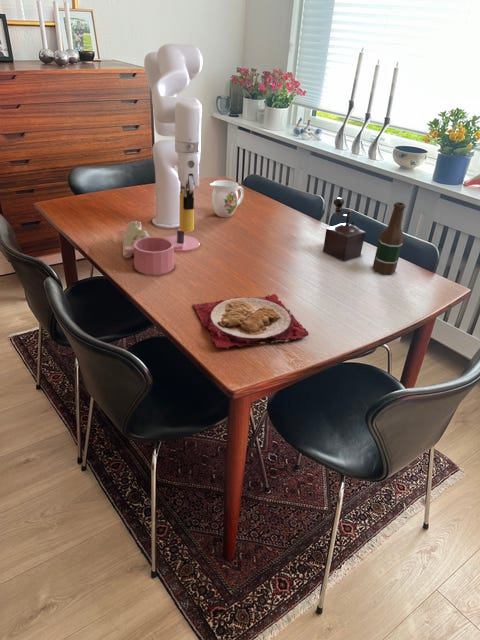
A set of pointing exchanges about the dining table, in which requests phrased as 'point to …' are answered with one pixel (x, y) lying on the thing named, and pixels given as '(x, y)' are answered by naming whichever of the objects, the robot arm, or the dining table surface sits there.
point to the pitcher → (226, 197)
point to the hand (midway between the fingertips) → (186, 205)
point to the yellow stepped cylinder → (185, 216)
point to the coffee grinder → (343, 237)
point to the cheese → (133, 236)
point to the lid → (184, 241)
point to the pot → (153, 255)
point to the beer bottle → (390, 243)
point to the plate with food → (249, 321)
